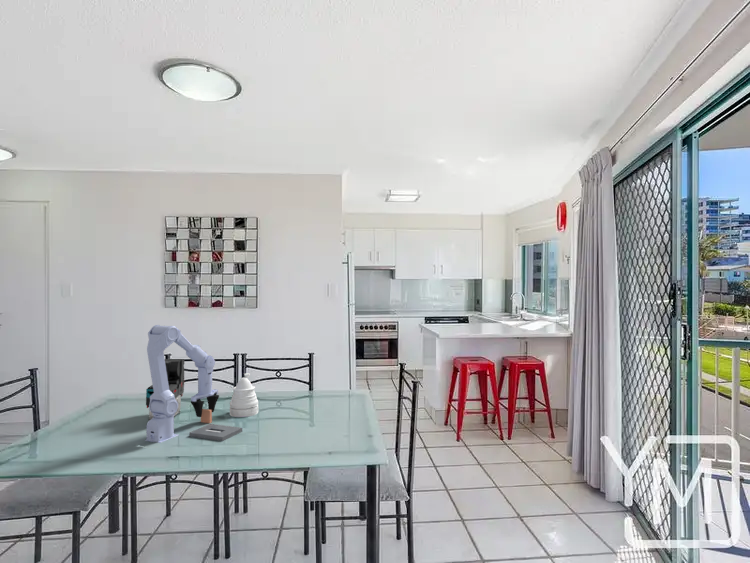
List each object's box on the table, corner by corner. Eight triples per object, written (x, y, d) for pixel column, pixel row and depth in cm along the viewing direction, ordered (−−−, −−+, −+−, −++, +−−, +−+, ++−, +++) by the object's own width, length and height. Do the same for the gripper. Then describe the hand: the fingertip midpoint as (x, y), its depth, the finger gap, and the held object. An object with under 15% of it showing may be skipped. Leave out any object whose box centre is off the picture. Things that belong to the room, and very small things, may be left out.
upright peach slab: (209, 424, 198) (209, 410, 198) (200, 423, 200) (200, 409, 199) (211, 423, 199) (211, 409, 199) (202, 422, 201) (202, 408, 201)
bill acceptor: (144, 425, 196) (144, 367, 196) (161, 411, 219) (161, 358, 219) (170, 424, 198) (170, 366, 198) (185, 410, 220) (184, 357, 220)
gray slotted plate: (222, 442, 175) (222, 436, 175) (189, 437, 181) (189, 432, 181) (242, 432, 186) (242, 427, 186) (210, 428, 192) (210, 423, 192)
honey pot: (244, 408, 224) (244, 370, 224) (264, 411, 217) (264, 373, 217) (223, 414, 213) (223, 375, 213) (243, 418, 206) (243, 378, 206)
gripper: (200, 387, 191) (200, 419, 191) (223, 380, 205) (223, 410, 205) (187, 385, 194) (187, 418, 194) (211, 379, 207) (211, 409, 207)
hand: (205, 414), depth 199 cm, fingers open, 7 cm apart
